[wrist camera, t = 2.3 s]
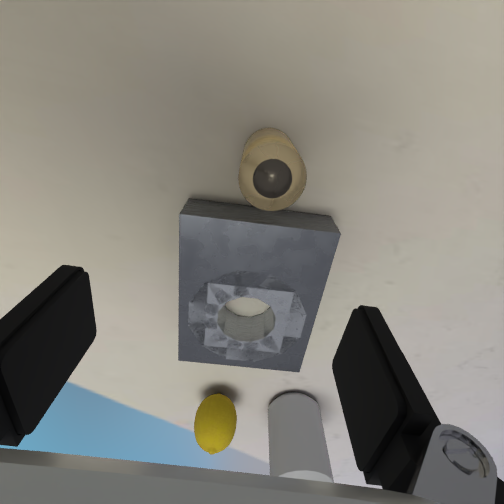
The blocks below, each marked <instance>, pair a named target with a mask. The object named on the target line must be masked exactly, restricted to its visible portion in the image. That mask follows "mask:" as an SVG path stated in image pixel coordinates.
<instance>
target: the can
mask: <svg viewBox="0 0 504 504" xmlns="http://www.w3.org/2000/svg"><path fill="white" fill-rule="evenodd" d="M268 430H269V460H270V476H278V477H287V478H296V479H305V480H313V481H322V482H331V483H334V481H333V476H332V470H331V465H330V460H329V455H328V450H327V445H326V440H325V434H324V429H323V424H322V419H321V414H320V409H319V406H318V404H317V402H316V401H314V400H313V399H312V398H310V397H308V396H307V395H305V394H302V393H296V392H293V393H286V394H283V395H281V396H279V397H277V398H276V399H275V400H274V401H273V402H272V403H271V404H270V405H269V408H268Z"/></svg>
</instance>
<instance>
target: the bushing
mask: <svg viewBox="0 0 504 504" xmlns="http://www.w3.org/2000/svg"><path fill="white" fill-rule="evenodd" d="M306 179H307V174H306V168H305V165H304V162H303V160H302V158H301V157H300V155H299V154H298V152H297V150H296V149H295V147H294V146H293V144H292V142H291V141H290V139H289V138H288V136H287V135H286V134H284V133H283V132H282V131H280V130H278V129H274V128H264V129H261V130H258V131H256V132H255V133H253V134H252V135H251V136H250V137H249V139H248V140H247V142H246V144H245V147H244V151H243V156H242V160H241V165H240V169H239V177H238V180H239V186H240V189H241V192H242V194H243V196H244V197H245V199H246V200H247V201H248V202H249V203H250V204H252V205H253V206H255V207H257V208H259V209H262V210H266V211H277V210H281V209H284V208H287V207H289V206H290V205H292V204H293V203H294V202H295V201H296V200H297V199H298V198H299V197H300V196H301V194H302V192H303V190H304V188H305V185H306Z"/></svg>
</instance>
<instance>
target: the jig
mask: <svg viewBox="0 0 504 504" xmlns="http://www.w3.org/2000/svg"><path fill="white" fill-rule="evenodd" d="M340 235H341V233H340V231H339V229H338V228H337V226H336V224H335V223H334V221H333V219H332V217H331V216H326V215H318V214H310V213H302V212H294V211H286V210H277V211H266V210H262V209H259V208H257V207H253V206H245V205H237V204H229V203H221V202H213V201H205V200H197V199H188V201H187V202H186V204H185V206H184V207H183V209H182V211H181V212H180V214H179V352H178V360H179V361H190V362H200V363H210V364H220V365H230V366H241V367H251V368H261V369H271V370H281V371H292V372H299V371H300V368H301V365H302V361H303V358H304V355H305V351H306V348H307V345H308V341H309V338H310V335H311V331H312V328H313V325H314V321H315V318H316V315H317V311H318V308H319V305H320V301H321V298H322V295H323V291H324V288H325V285H326V281H327V278H328V275H329V271H330V268H331V265H332V261H333V258H334V255H335V251H336V248H337V245H338V241H339V238H340ZM240 297H249V298H258V299H260V300H261V301H263V302H264V303H266V304H268V305H269V306H271V307H269V308H268V309H267V310H266V311H265V312H264V313H263V314H260V315H257V316H253V317H244V316H237V315H236V314H234V313H232V312H231V311H229V310H227V309H226V307H225V303H226V302H227V301H230V300H234V299H237V298H240Z"/></svg>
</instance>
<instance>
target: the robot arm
mask: <svg viewBox="0 0 504 504" xmlns="http://www.w3.org/2000/svg"><path fill="white" fill-rule="evenodd" d="M95 336H96V323H95V316H94V309H93V302H92V295H91V287H90V280H89V275H88V273H87V272H84V269H83V268H82V267H77V266H69V265H62V266H61V267H59V268H58V269H57V270H56V271H55V272H54V273H52V274H51V275H50V276H49V277H48V278H47V279H46V280H45V281H43V282H42V283H41V284H40V285H39V286H38V287H37V288H35V289H34V290H33V291H32V292H31V293H30V294H29V295H28V296H26V297H25V298H24V299H23V300H22V301H21V302H20V303H18V304H17V305H16V306H15V307H14V308H13V309H12V310H11V311H9V312H8V313H7V314H6V315H5V316H4V317H3V318H1V319H0V445H8V446H18V445H19V443H20V442H21V440H22V439H23V437H24V436H25V435H29V434H31V433H32V432H33V431H34V429H35V428H36V426H37V425H38V423H39V422H40V420H41V419H42V417H43V416H44V414H45V413H46V411H47V410H48V408H49V407H50V405H51V403H52V402H53V401H54V399H55V398H56V396H57V395H58V393H59V392H60V390H61V389H62V387H63V386H64V384H65V383H66V381H67V380H68V378H69V377H70V375H71V374H72V372H73V371H74V369H75V368H76V366H77V365H78V363H79V362H80V360H81V359H82V357H83V356H84V354H85V353H86V351H87V350H88V348H89V347H90V345H91V344H92V342H93V341H94V339H95ZM332 369H333V374H334V378H335V382H336V386H337V389H338V393H339V397H340V401H341V405H342V409H343V413H344V417H345V421H346V425H347V429H348V433H349V437H350V440H351V444H352V448H353V452H354V456H355V460H356V464H357V467H358V469H359V470H360V471H363V473H364V477H365V480H366V484H371V485H380V486H382V488H383V489H376V488H369V487H361V486H354V485H346V484H339V483H331V482H322V481H313V480H305V479H296V478H287V477H278V476H269V475H260V474H251V473H242V472H233V471H224V470H214V469H205V468H196V467H187V466H177V465H167V464H158V463H149V462H139V461H130V460H119V459H110V458H100V457H90V456H81V455H70V454H61V453H51V452H40V451H29V450H17V449H4V448H0V504H504V482H503V481H502V480H501V479H499V478H498V477H497V468H496V465H495V463H494V461H493V458H492V457H491V455H490V454H489V452H488V451H487V449H486V448H485V447H484V446H483V445H482V444H481V443H480V442H479V441H478V440H477V439H476V438H475V437H473V436H472V435H471V434H469V433H468V432H466V431H465V430H463V429H461V428H459V427H456V426H453V425H450V424H441V423H440V421H439V419H438V417H437V416H436V414H435V412H434V410H433V408H432V406H431V404H430V403H429V401H428V399H427V397H426V395H425V393H424V391H423V390H422V388H421V386H420V384H419V382H418V380H417V378H416V377H415V375H414V373H413V371H412V369H411V367H410V365H409V364H408V362H407V360H406V358H405V356H404V354H403V353H402V351H401V350H400V348H399V346H398V344H397V342H396V340H395V338H394V337H393V335H392V333H391V331H390V329H389V327H388V325H387V324H386V322H385V320H384V318H383V316H382V314H381V312H380V310H379V309H378V308H376V307H370V306H363V305H361V306H359V307H358V309H354V310H353V311H352V314H351V316H350V319H349V321H348V324H347V326H346V329H345V331H344V334H343V336H342V339H341V341H340V344H339V346H338V349H337V351H336V354H335V356H334V359H333V363H332Z"/></svg>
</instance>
